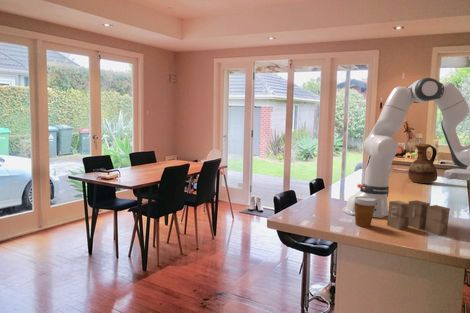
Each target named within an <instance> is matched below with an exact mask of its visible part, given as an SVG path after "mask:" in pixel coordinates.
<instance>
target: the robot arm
mask: <svg viewBox="0 0 470 313" xmlns="http://www.w3.org/2000/svg"><path fill="white" fill-rule="evenodd" d="M429 101H430V102H431V101H433V102H434V103H435V104H436V105H437V107H438V108H439V111H440V113H441V117H442V120H441V122H440V124H441V130H442V133H443V135H444V138H445V141H446V143H447V146H448V148H449V151H450V156H451V161H452V163H453V164H454V165H456V166H457V167H458V168H451V169H446V170H445V171H444V178H445V179H447V180H456V181H457V180H459V181H467V182H468V183H470V144H469V145H465V146H464V145H462V144H461V141H460V139H459V136H458V134H457V127H458V126H459V125H460V124H461V123H462V122H463V121H464V120H465V119H466V118H467V116H468V115H469V112H470V106H469V104H468V102H467V101H466V98H465V97H464V96H463V94H462V93H461V91H460V90H459V88H457V86H456V85H455V84H454V83H452V82H450V81H447V82H446V81H445V82H440V81H438V80H437V79H434V78H432V77H423V78H420V79H417V80H416V81H413V82H412V83H410V84H409V85H408V86H407V87H406V86H401V85H400V86H396V87H394V88H393V89H392V90H391V92H390V93H389V95H388V97H387V98H386V101H385V102H384V105H383V107H382V110H381V112H380V114H379V116H378V118H377V121H376V123H375V125H374V126H373V127H372V130H370V133H369V134H368V136H367V137H366V138H365V139H364V142H363V147H364V148H363V149H364V150H365V152H366V153H367V154H368V155H369V161H368V164H367V166H366V168H365V172H364V173H365V174H364V183H363V184H361V183H357V185H356V186H357V188H358V189H359V191H358V192H356V193H355V194H353V195H351V196H349V198H348V199H347V203H346V206H341V211H342V212H343V213H345V214H347V215H351V216H355V203H354V199H355V197H357V196H364V197H371V198H374V199H376V205H375V208H374V212H373V217H372V218H381V219H382V218H383V219H384V218H385V217H388V210H389V204H388V197H389V192H390V190H389V189H390V187H389V186H390V185H389V183H390V182H389V179H390V171H391V168H392V164H393V161H394V158H395V156H396V155H397V154H398V151H399V145H398V143H397V141H396V140H395V139H394V137H395V135H396V134H397V132H398V131H399V130H401V128H402V125H403V123H404V122H405V118H406V116H407V114H408V111H409V108H410V107H411V105H412V104H413V103H415V104H419V103H427V102H429Z"/></svg>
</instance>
